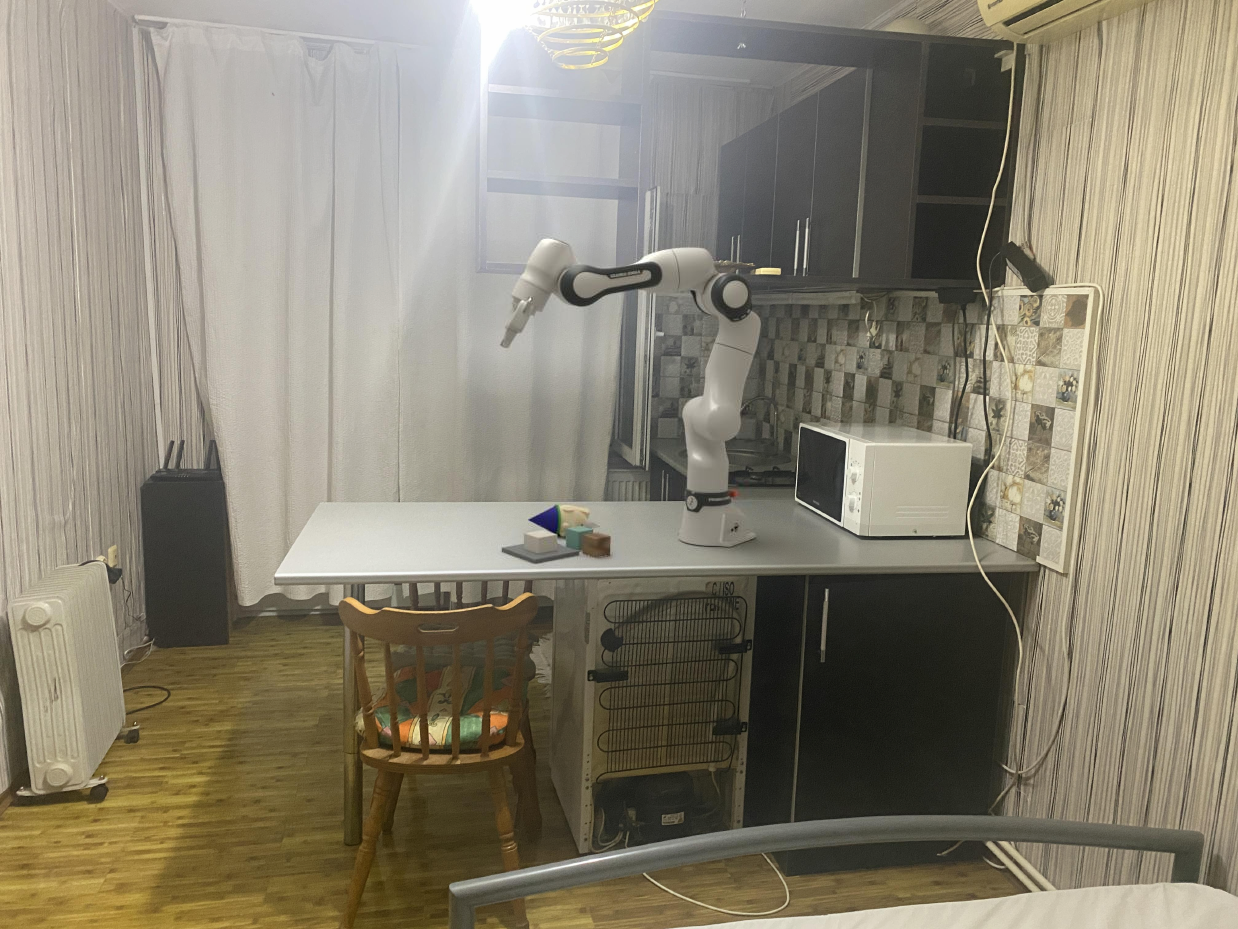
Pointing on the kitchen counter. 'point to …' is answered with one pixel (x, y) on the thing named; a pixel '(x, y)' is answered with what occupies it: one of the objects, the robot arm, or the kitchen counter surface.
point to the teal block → (576, 536)
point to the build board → (540, 556)
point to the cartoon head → (563, 519)
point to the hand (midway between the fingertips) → (503, 347)
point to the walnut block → (596, 544)
